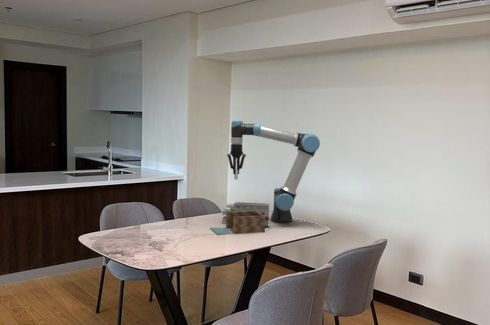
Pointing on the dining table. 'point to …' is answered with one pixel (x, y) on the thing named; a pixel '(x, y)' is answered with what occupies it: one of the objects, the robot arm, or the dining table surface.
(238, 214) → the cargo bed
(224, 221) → the grey rectangular block
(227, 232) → the tailgate
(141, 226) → the dining table surface
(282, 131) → the robot arm
